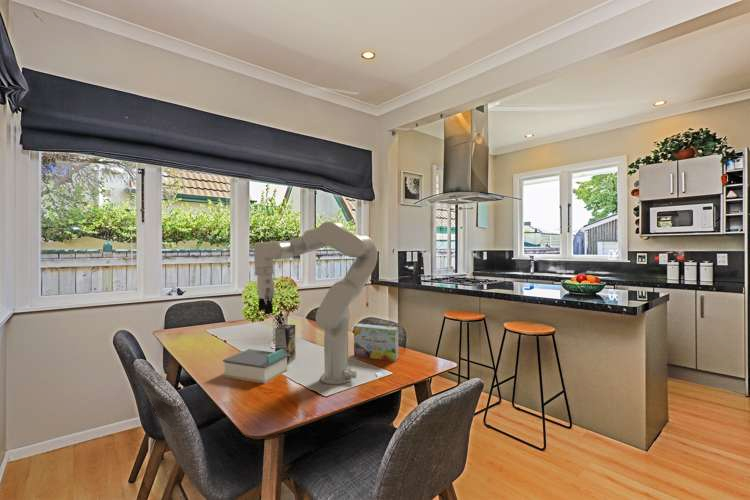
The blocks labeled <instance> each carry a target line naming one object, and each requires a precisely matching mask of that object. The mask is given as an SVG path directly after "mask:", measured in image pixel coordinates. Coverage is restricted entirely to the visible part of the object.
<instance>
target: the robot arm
mask: <svg viewBox="0 0 750 500" xmlns="http://www.w3.org/2000/svg"><path fill="white" fill-rule="evenodd" d="M326 247H329V248H332V249H334V250H335V251H338V252H339V253H341V254H343V255H345V256H347V257H349V258H354V261H353V263H352V264H351V265H350V267H349V269H348V270H347V273H346V274H345V275H344V277H343V279H341V280H340V281H337V282H335V283H334V284H333V285H331V286H330V288H329V289H328V291H327V293H326V294H325V296H324V298H323V299H322V301H321V303H320V305H319V307H318V308H317V310H316V313H315V322H316V324H317V326H318V327H319V328H320V329H322V331H324V337H323V338H324V340H323V341H324V344H323V345H324V346H323V347H324V349H323V350H324V351H323V352H324V355H323V356H324V373H322V374H321V375H320V380H321V382H322V383H324V384H327V385H344V384H347V383H349V382H350V381H352V379H356V380H357V377H358V374H357V371H354V370H352V369H351V366H349V325H350V324H349V323H350V309H349V306H350V305H351V304H353V303H354V302H355V301H356V300H358V298H359V297H360V294H361V292H362V291H363V289H364V288H365V285H367V282H368V281H369V278H370V277H371V276H372V273H373V271H374V269H375V268H376V266H377V265H376V264H377V262H378V257H379V255H378V253H379V252H378V248H377V246H376V244H375V242H374V241H373V239H372V238H371V237H369V236H368V235H365V234H354V233H353V232H351V231H348V230H347V229H346V227H345V226H344V224H342V223H341V222H338V221H330V220H329V221H324V222H322V223H321V224H320V225H319V226H317V227H315V228H312V229H308V230H305V231H304V233H303V234H302V235H301V236H298V237H295V238H293V239H290V240H278V241H276V240H275V241H271V242H269V241H266V242H265V241H262V242H261V241H259V242H258V241H257V242H256V243H255V244H254V246H253V253H254V254H253V256H254V257H253V258H254V276H255V277H256V276H257V277H256V281H257V282H256V287H257V288H256V289H257V297H258V302H257V303H258V311H264V314H265V315H269V314H271V315H272V314H273V313H274V307H273V306H274V304H273V303H274V302H273V299H274V298H275V286H274V285H275V284H274V278H273V275H274V260H286V259H290V258H294V257H297V256H301V255H304V254H307V253H310V252H313V251H316V250H320V249H322V248H326Z"/></svg>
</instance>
